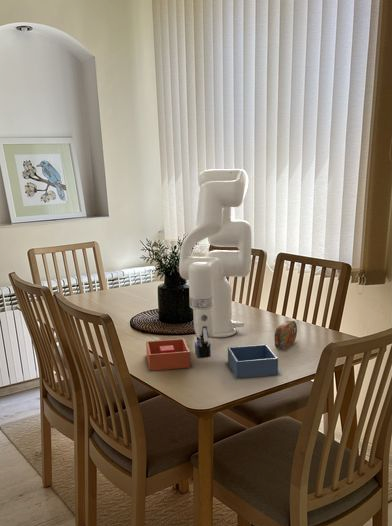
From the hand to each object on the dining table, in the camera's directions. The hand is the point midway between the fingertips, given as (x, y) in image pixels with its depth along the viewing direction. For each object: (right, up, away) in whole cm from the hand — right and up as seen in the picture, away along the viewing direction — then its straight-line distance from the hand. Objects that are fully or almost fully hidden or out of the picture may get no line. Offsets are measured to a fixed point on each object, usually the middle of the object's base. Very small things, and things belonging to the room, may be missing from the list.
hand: (202, 354), depth 181 cm
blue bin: (+16, -5, -4) cm, 17 cm away
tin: (+30, +3, +15) cm, 34 cm away
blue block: (0, 0, 0) cm, 0 cm away
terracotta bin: (-12, -3, +4) cm, 13 cm away
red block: (-12, -2, +3) cm, 12 cm away
